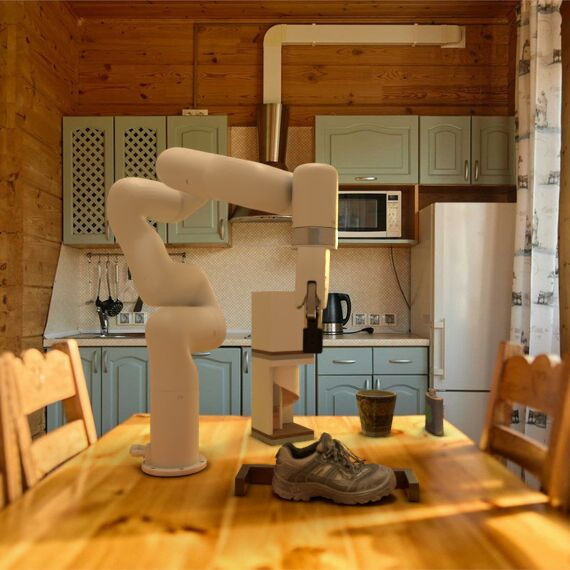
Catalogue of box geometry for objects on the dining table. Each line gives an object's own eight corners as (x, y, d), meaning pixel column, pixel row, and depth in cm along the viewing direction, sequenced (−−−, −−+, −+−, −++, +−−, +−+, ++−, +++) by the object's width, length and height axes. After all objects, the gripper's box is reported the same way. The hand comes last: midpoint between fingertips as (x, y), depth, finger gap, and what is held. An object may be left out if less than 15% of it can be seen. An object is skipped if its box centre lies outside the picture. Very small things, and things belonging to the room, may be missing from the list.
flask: (445, 436, 131) (444, 391, 131) (433, 436, 131) (432, 391, 131) (433, 427, 140) (432, 385, 140) (422, 427, 140) (421, 385, 140)
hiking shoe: (402, 497, 84) (389, 422, 91) (269, 508, 86) (266, 433, 92) (398, 507, 92) (386, 437, 98) (276, 517, 93) (273, 447, 100)
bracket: (234, 495, 91) (234, 477, 91) (242, 480, 99) (242, 463, 99) (419, 501, 88) (419, 483, 89) (412, 485, 96) (412, 468, 96)
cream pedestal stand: (271, 445, 122) (271, 291, 123) (251, 435, 132) (251, 291, 133) (314, 439, 128) (313, 291, 129) (291, 429, 137) (291, 292, 138)
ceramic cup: (367, 427, 140) (367, 388, 140) (403, 432, 134) (403, 392, 134) (342, 437, 130) (342, 395, 130) (380, 444, 124) (380, 400, 124)
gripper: (295, 245, 96) (294, 348, 96) (286, 236, 82) (284, 357, 81) (338, 245, 96) (336, 349, 95) (336, 236, 81) (334, 359, 80)
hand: (312, 352), depth 88 cm, fingers closed
